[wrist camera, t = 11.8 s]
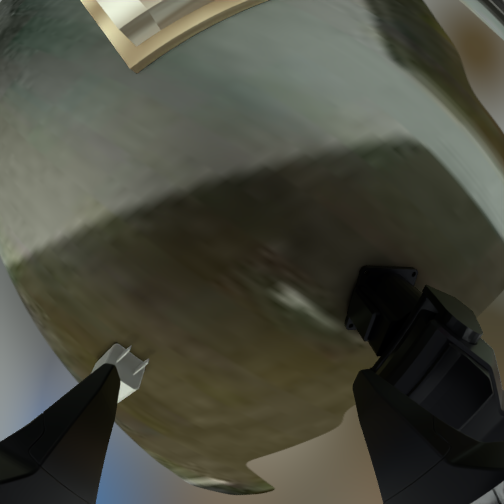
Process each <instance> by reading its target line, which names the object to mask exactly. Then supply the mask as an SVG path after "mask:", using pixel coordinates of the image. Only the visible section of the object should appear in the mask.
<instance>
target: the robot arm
mask: <svg viewBox="0 0 504 504" xmlns="http://www.w3.org/2000/svg"><path fill="white" fill-rule="evenodd" d="M365 271H367V273H366V274H364V273H365ZM413 272H414V273H413ZM412 273H413V274H412ZM417 274H418V271H417V270H416V269H415V268H407V267H382V266H364V267H362V268H361V270H360V273H359V277H358V281H357V285H356V288H355V290H354V291H353V295H352V298H351V302H350V305H349V309H348V312H347V314H348V315H347V319H346V322H345V327H346V328H347V329H348V330H356V329H357V330H358V332H359V333H360V335H361V337H362V338H363V340H364V341H368V342H369V344H370V345H371V347H372V349H373V350H374V352H375V353H376V355H377V356H381V357H380V358H379V359H378V361H377V362H376V363H375V364H374V366H373V367H372V368H370V369H365V370H360V371H359V373H358V375H357V377H356V379H355V381H354V383H353V393H354V398H355V402H356V407H357V412H358V417H359V421H360V425H361V428H362V431H363V434H364V437H365V441H366V444H367V447H368V451H369V454H370V457H371V460H372V464H373V467H374V471H375V474H376V478H377V481H378V485H379V489H380V492H381V496H382V500H383V504H504V391H503V389H502V385H501V379H500V374H499V370H498V366H497V361H496V357H495V354H494V351H493V349H492V348H491V347H490V346H489V345H488V344H487V343H486V342H485V341H484V340H482V339H481V338H480V337H481V336H482V334H483V332H482V329H481V327H480V325H479V323H478V321H477V319H476V317H475V315H474V313H473V311H472V310H470V309H469V308H468V307H467V306H465V305H464V304H463V303H461V302H460V301H459V300H458V299H456V298H455V297H453V296H450V295H448V294H446V293H444V292H441V291H439V290H437V289H435V288H432V287H430V286H428V285H425V287H424V289H423V291H422V292H423V293H421V292H420V291H419V290H418V289H416V288H415V287H414V284H415V281H416V278H417ZM350 324H351V325H350ZM120 385H121V381H120V377H119V374H118V371H117V368H116V366H115V365H114V364H109V363H104V364H103V365H101V366H100V367H99V368H98V369H96V370H95V371H94V372H93V373H91V374H90V375H89V376H88V377H86V378H85V379H84V380H83V381H81V382H80V383H79V384H78V385H76V386H75V387H74V388H73V389H71V390H70V391H69V392H68V393H66V394H65V395H64V396H63V397H61V398H60V399H59V400H58V401H57V402H55V403H54V404H53V405H52V406H50V407H49V408H48V409H47V410H45V411H44V412H43V413H42V414H40V415H39V416H38V417H37V418H35V419H34V420H33V421H31V422H30V423H29V424H27V425H26V426H25V427H23V428H21V429H20V430H18V431H17V432H15V433H14V434H12V435H10V436H9V437H7V438H6V439H4V440H2V441H1V442H0V504H96V498H97V492H98V487H99V482H100V477H101V473H102V468H103V464H104V460H105V455H106V451H107V447H108V443H109V439H110V435H111V432H112V427H113V424H114V420H115V415H116V409H117V402H118V396H119V391H120Z"/></svg>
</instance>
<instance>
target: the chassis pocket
mask: <svg viewBox="0 0 504 504" xmlns="http://www.w3.org/2000/svg"><path fill="white" fill-rule="evenodd" d="M265 1H268V0H81V2H82V3H83V4H84V6H85V7H86V9H87V10H88V11H89V13H90V14H91V15H92V17H93V18H94V19H95V21H96V22H97V24H98V25H99V26H100V28H101V29H102V31H103V32H104V33H105V35H106V36H107V37H108V39H109V40H110V42H111V43H112V44H113V46H114V47H115V48H116V50H117V51H118V53H119V54H120V55H121V57H122V58H123V60H124V61H125V62H126V64H127V65H128V67H129V68H130V69H131V70H133V71H134V72H135V73H138V72H140V71H141V70H142V69H144V68H145V67H146V66H148V65H149V64H150V63H152V62H153V61H155V60H156V59H157V58H159V57H160V56H162V55H163V54H165V53H166V52H168V51H169V50H171V49H172V48H174V47H176V46H177V45H179V44H180V43H182V42H184V41H185V40H187V39H189V38H190V37H192V36H194V35H196V34H197V33H199V32H201V31H203V30H205V29H206V28H208V27H210V26H212V25H214V24H216V23H218V22H220V21H222V20H224V19H226V18H228V17H230V16H232V15H234V14H237V13H239V12H241V11H243V10H246V9H248V8H250V7H253V6H255V5H258V4H260V3H263V2H265Z"/></svg>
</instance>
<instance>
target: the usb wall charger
mask: <svg viewBox="0 0 504 504" xmlns="http://www.w3.org/2000/svg"><path fill="white" fill-rule="evenodd" d="M131 347H132V346H131V345H130V346H129V347H128V348H127V349H125V348H124V347H122V346H121V345H120V344H114V345H113V346H112V347H111V348H110V349H109V350H108V351H107V352H106V353H105V354H104V355H103V356H102V357H101V358H100V359H99V360H98V361H97V362H96V364H95V366H94V368H93V370H92V372H91V373H93V372H94V371H95V370H96V369H98V368H99V367H100V366H101V365H103V364H104V363H109V364H114V365H115V366H116V368H117V371H118V374H119V377H120V381H121V385H120V391H119V396H118V402H117V403H119V402H120V401H121V400H123V399H124V398H126V397H127V396H129V395H130V394H131V393H133V392H134V391H136V390H137V389H138V388H139V387H140V384H141V380H142V377H143V374H144V370H145V366H146V365H147V364H148V362H149V358H148V359H147V360H145V361H144V362H143V361H141V360H140V359H138V358H137V357H136V356H134V355H133V354H132V353H130V352H129V351H130V349H131Z"/></svg>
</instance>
